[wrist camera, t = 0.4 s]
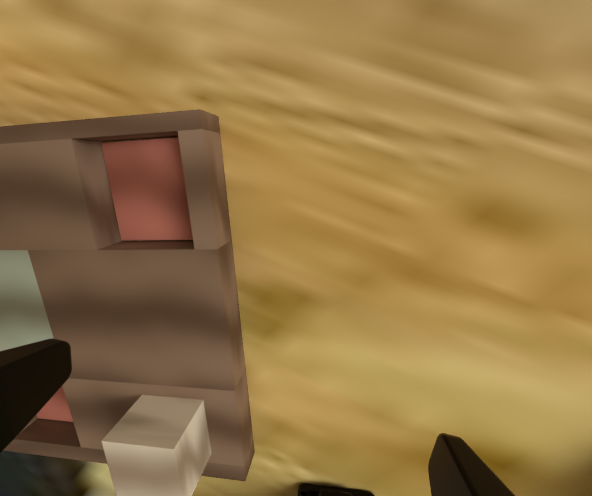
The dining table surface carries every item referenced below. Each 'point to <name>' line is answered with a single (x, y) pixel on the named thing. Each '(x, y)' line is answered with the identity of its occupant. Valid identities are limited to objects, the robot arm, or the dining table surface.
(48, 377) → the robot arm
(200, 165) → the board
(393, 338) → the dining table surface
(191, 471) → the block
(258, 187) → the dining table surface
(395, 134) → the dining table surface
